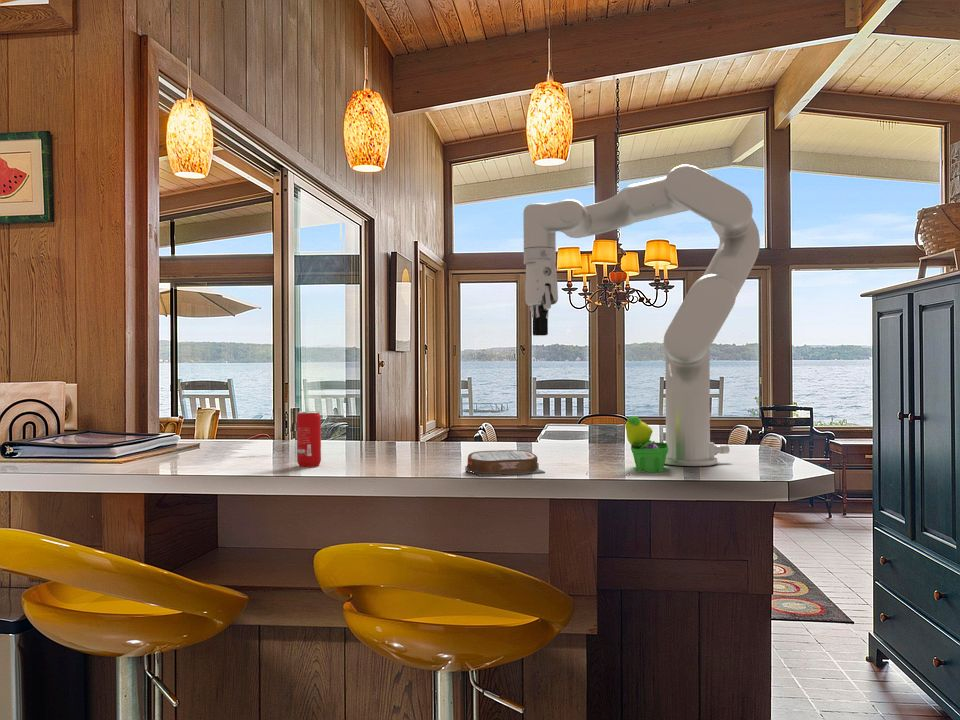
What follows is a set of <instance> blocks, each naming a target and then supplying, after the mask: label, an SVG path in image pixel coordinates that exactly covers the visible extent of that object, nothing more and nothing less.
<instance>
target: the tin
mask: <svg viewBox="0 0 960 720" xmlns="http://www.w3.org/2000/svg"><path fill="white" fill-rule="evenodd" d="M537 463H538V456H537V454H535V453H532V452H531V451H528V450H520V449H510V450H509V449H506V450H481V451H474V452H471V453H469V454H468V455H467V465H466V466H467V468H468V469H469V470H471V471H474V472H478V473H487V474H490V473H513V472H530V471H534V470H536V469H537V468H538V466H537Z"/></svg>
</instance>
